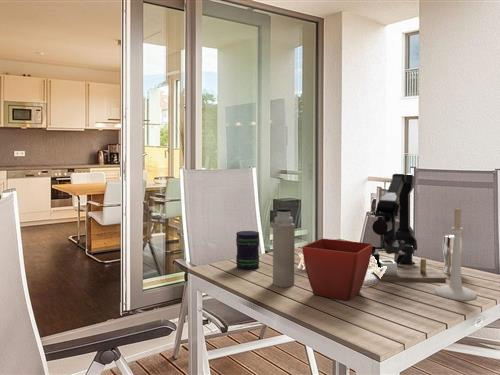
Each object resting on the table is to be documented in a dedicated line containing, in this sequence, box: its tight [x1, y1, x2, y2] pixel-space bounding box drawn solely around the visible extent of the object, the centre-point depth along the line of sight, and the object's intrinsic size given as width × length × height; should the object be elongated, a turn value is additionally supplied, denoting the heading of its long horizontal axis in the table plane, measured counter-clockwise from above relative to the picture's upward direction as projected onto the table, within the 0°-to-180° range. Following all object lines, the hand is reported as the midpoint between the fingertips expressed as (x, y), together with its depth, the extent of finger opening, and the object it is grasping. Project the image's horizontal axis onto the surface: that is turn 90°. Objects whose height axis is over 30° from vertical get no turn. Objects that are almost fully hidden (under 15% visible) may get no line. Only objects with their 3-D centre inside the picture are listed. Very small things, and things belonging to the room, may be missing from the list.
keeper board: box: [380, 258, 447, 283], centre depth 172 cm, size 14×24×7 cm, turn 88°
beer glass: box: [442, 234, 463, 275], centre depth 178 cm, size 7×7×15 cm
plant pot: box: [302, 238, 374, 301], centre depth 151 cm, size 19×19×17 cm
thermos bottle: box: [272, 207, 296, 288], centre depth 162 cm, size 8×8×28 cm
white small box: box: [379, 259, 398, 275], centre depth 172 cm, size 6×6×4 cm
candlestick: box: [434, 207, 477, 301], centre depth 149 cm, size 13×13×30 cm
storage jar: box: [235, 230, 260, 272], centre depth 186 cm, size 10×10×15 cm
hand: (386, 270), depth 172 cm, fingers closed on white small box, 6 cm apart
